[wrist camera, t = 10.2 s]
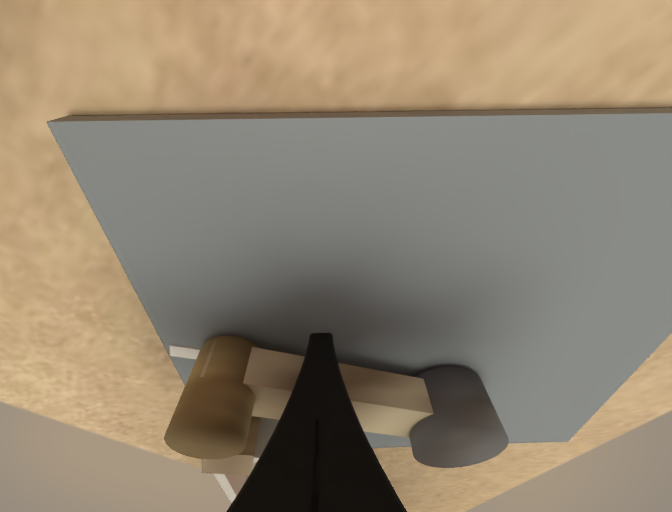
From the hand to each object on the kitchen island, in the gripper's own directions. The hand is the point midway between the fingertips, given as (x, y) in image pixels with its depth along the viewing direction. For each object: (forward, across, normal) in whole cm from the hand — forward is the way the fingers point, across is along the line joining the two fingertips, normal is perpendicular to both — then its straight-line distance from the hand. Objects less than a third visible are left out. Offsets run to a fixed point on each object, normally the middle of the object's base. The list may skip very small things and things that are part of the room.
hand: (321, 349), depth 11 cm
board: (+2, -4, +2) cm, 5 cm away
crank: (+1, -1, +3) cm, 3 cm away
